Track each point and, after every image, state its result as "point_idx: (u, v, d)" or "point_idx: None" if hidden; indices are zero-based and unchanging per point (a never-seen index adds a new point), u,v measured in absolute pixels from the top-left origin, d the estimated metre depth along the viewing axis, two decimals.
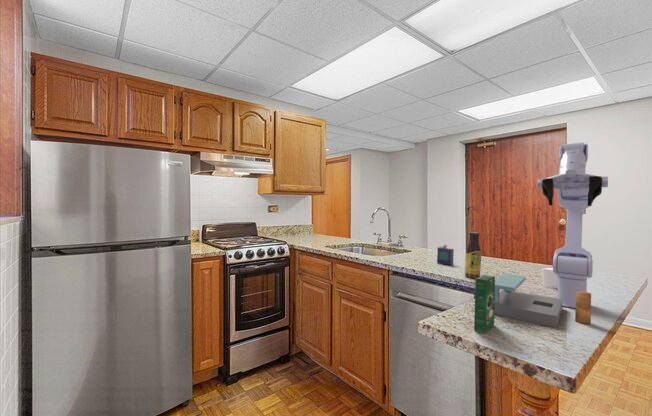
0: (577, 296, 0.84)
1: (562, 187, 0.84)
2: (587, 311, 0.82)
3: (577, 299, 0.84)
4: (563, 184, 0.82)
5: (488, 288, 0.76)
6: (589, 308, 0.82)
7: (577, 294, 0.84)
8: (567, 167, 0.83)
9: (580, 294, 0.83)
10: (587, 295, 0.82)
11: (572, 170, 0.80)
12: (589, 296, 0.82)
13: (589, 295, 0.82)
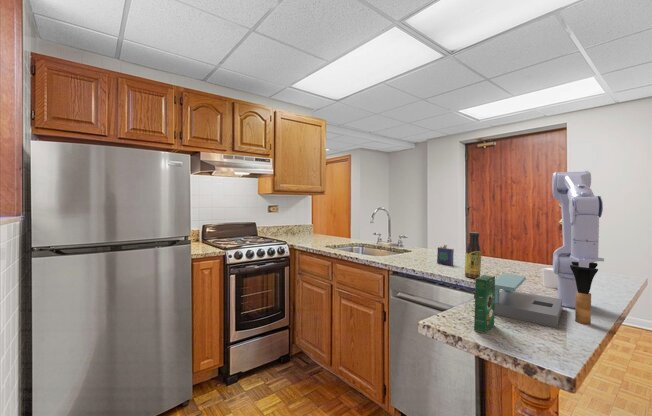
0: (577, 296, 0.84)
1: None
2: (587, 311, 0.82)
3: (577, 299, 0.84)
4: None
5: (488, 288, 0.76)
6: (589, 308, 0.82)
7: (577, 294, 0.84)
8: (597, 249, 0.81)
9: (580, 294, 0.83)
10: (587, 295, 0.82)
11: (602, 260, 0.81)
12: (589, 296, 0.82)
13: (589, 295, 0.82)
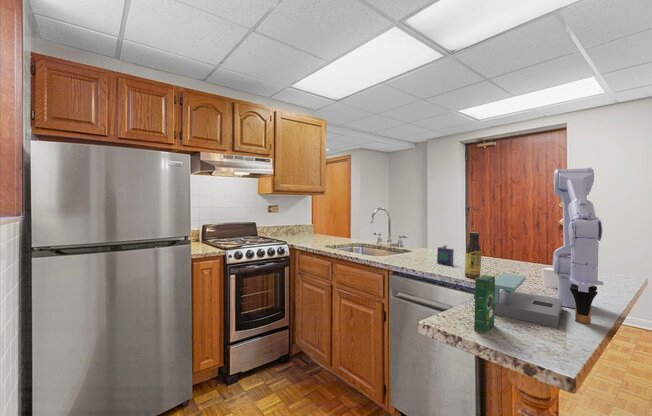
0: None
1: None
2: None
3: None
4: None
5: (488, 288, 0.76)
6: None
7: None
8: (597, 272, 0.81)
9: None
10: None
11: None
12: None
13: None
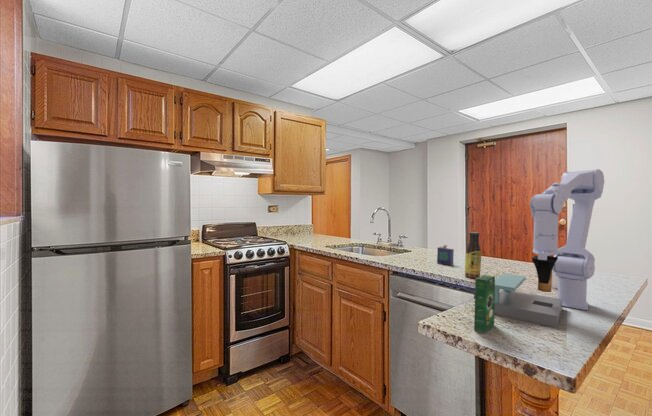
0: None
1: None
2: None
3: None
4: None
5: (488, 288, 0.76)
6: (550, 277, 0.88)
7: None
8: (556, 243, 0.87)
9: None
10: None
11: (561, 253, 0.87)
12: None
13: None
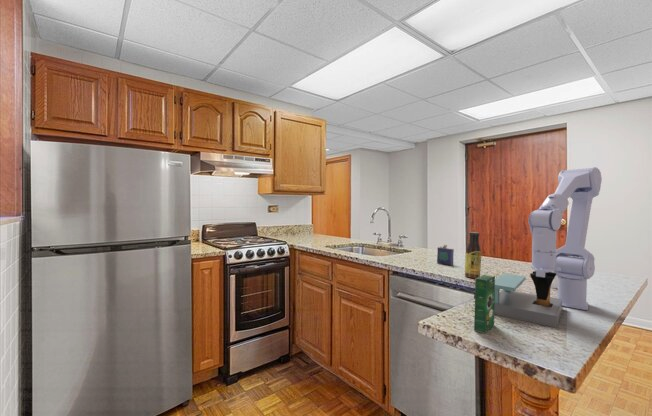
0: None
1: None
2: None
3: None
4: None
5: (488, 288, 0.76)
6: (548, 293, 0.88)
7: None
8: (555, 259, 0.87)
9: None
10: None
11: None
12: None
13: None
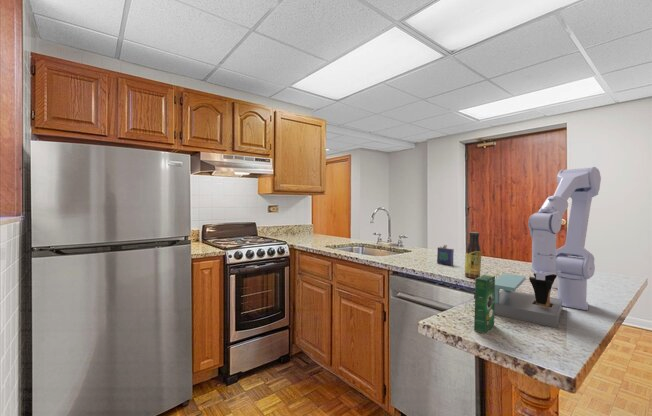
0: None
1: None
2: (546, 304, 0.88)
3: None
4: None
5: (488, 288, 0.76)
6: (548, 301, 0.88)
7: None
8: (554, 262, 0.87)
9: None
10: None
11: None
12: None
13: None
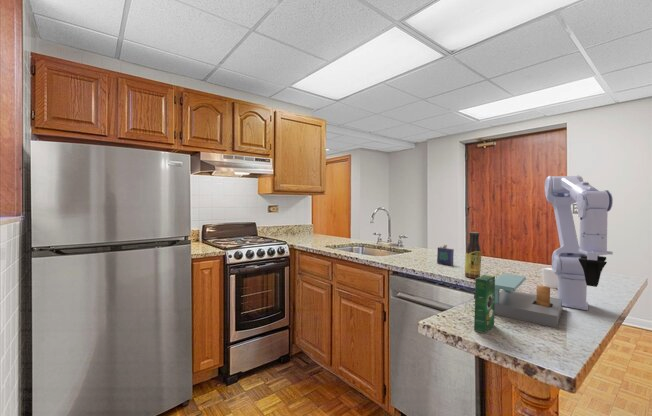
0: (537, 290, 0.89)
1: None
2: (546, 304, 0.88)
3: (537, 293, 0.89)
4: None
5: (488, 288, 0.76)
6: (548, 301, 0.88)
7: (537, 288, 0.89)
8: (606, 242, 0.82)
9: (540, 288, 0.89)
10: (546, 289, 0.88)
11: (611, 253, 0.82)
12: (548, 290, 0.88)
13: (548, 289, 0.88)
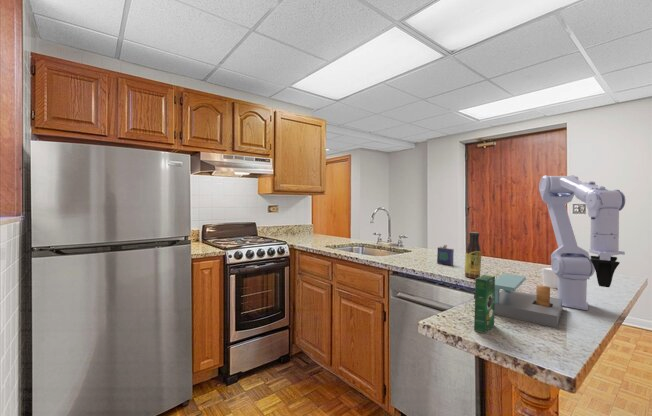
0: (537, 290, 0.89)
1: None
2: (546, 304, 0.88)
3: (537, 292, 0.89)
4: None
5: (488, 288, 0.76)
6: (548, 301, 0.88)
7: (537, 288, 0.89)
8: (618, 242, 0.81)
9: (540, 288, 0.89)
10: (546, 289, 0.88)
11: None
12: (548, 290, 0.88)
13: (548, 289, 0.88)
